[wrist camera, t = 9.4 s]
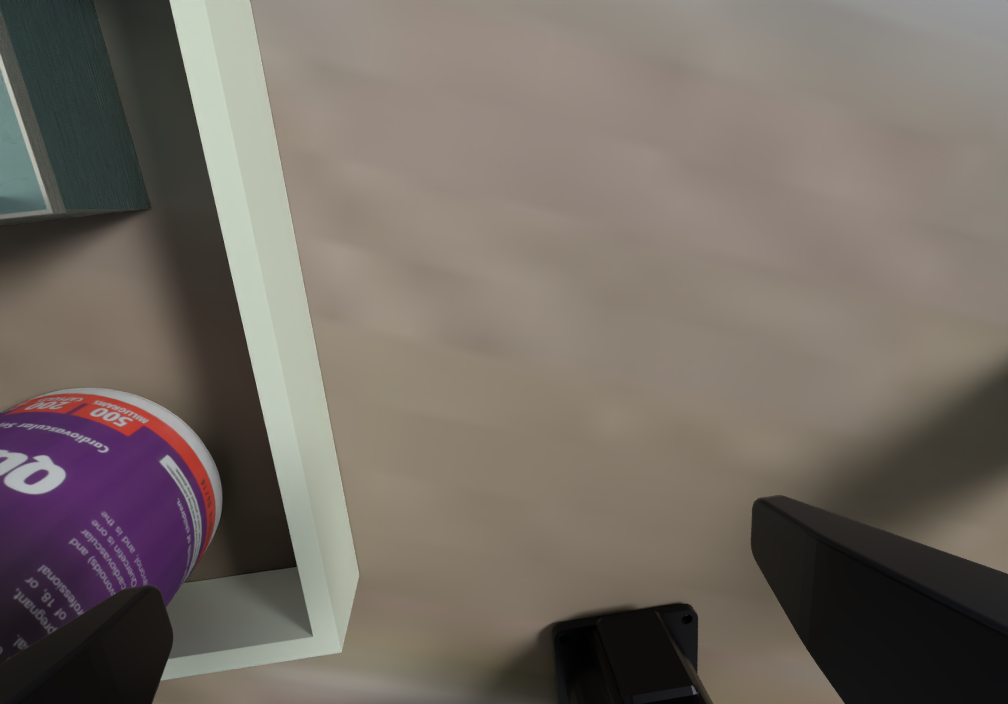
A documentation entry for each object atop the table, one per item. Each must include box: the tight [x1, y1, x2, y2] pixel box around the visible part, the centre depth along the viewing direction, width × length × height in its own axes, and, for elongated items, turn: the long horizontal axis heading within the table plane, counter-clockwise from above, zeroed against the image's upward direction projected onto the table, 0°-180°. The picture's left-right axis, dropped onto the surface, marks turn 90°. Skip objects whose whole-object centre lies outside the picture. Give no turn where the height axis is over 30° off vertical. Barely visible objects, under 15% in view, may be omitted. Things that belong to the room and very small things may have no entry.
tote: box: [160, 0, 359, 681], centre depth 17 cm, size 23×16×4 cm
